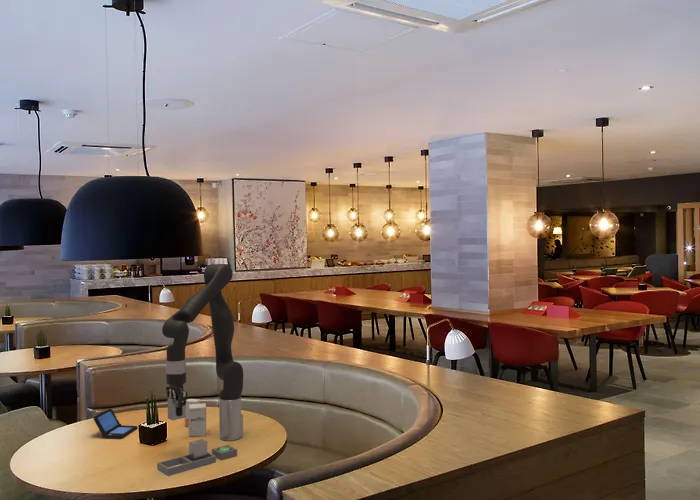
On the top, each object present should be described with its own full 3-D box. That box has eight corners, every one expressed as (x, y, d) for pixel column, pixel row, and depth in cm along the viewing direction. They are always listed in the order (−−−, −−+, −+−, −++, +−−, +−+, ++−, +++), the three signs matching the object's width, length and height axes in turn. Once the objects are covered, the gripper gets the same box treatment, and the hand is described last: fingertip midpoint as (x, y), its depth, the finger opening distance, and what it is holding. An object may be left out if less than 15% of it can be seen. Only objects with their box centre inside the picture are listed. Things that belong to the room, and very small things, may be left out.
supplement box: (189, 437, 263) (188, 408, 263) (188, 432, 270) (188, 403, 270) (206, 435, 265) (206, 407, 265) (205, 430, 272) (205, 402, 272)
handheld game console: (122, 439, 261) (121, 418, 260) (92, 438, 262) (92, 417, 262) (138, 428, 276) (138, 408, 276) (110, 427, 278) (110, 407, 277)
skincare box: (184, 426, 278) (184, 400, 278) (189, 424, 282) (189, 398, 282) (195, 428, 276) (195, 401, 276) (200, 425, 280) (200, 399, 280)
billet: (180, 415, 242) (180, 395, 242) (185, 417, 239) (185, 396, 239) (167, 418, 238) (167, 397, 238) (172, 420, 236) (172, 399, 235)
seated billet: (202, 459, 233) (202, 438, 233) (207, 462, 230) (207, 441, 230) (189, 463, 230) (188, 441, 229) (194, 466, 227) (194, 444, 226)
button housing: (227, 453, 243) (227, 444, 243) (237, 458, 237) (237, 449, 237) (212, 457, 238) (211, 449, 238) (221, 462, 233) (221, 453, 233)
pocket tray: (205, 458, 237) (205, 449, 237) (217, 465, 230) (217, 456, 230) (155, 472, 223) (155, 462, 223) (167, 479, 216) (167, 470, 216)
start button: (226, 451, 240) (226, 446, 240) (231, 453, 238) (231, 448, 237) (217, 453, 238) (217, 448, 238) (222, 456, 235) (222, 451, 235)
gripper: (158, 370, 241) (159, 413, 241) (175, 375, 231) (176, 420, 231) (176, 367, 246) (177, 409, 247) (193, 372, 236) (194, 416, 236)
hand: (176, 414), depth 239 cm, fingers closed on billet, 4 cm apart
